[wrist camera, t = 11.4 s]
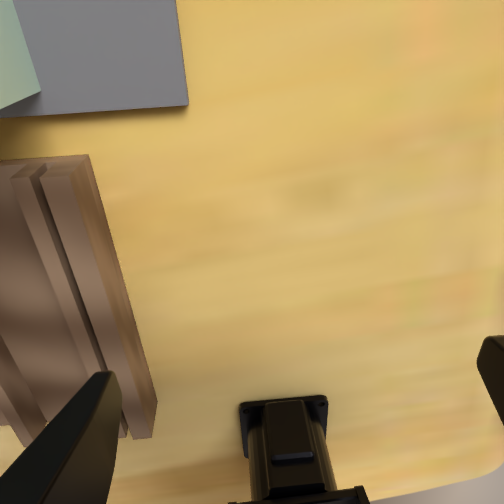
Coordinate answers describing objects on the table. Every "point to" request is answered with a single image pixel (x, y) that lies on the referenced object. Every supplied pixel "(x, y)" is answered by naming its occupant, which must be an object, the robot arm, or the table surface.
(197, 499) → the table surface
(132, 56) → the rubber mat
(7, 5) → the tall board
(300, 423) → the robot arm
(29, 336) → the board rack
